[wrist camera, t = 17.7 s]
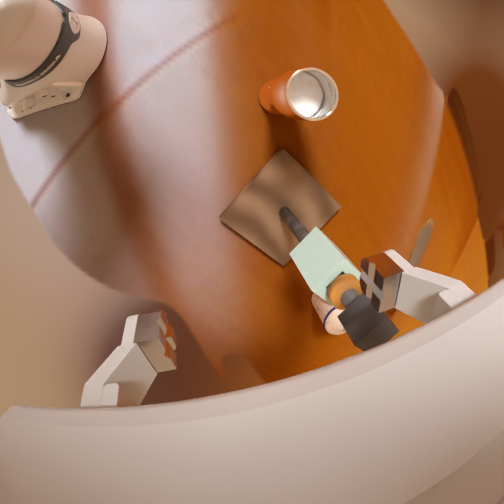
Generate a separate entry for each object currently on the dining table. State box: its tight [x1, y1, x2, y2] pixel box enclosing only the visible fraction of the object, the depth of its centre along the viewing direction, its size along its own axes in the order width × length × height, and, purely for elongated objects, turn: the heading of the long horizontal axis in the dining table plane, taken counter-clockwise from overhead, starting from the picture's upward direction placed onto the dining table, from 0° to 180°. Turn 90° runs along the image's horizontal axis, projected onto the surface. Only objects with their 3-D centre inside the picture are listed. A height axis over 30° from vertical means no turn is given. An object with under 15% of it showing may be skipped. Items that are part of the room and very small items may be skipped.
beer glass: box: [259, 67, 339, 121], centre depth 33 cm, size 7×7×15 cm
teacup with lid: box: [311, 292, 346, 335], centre depth 57 cm, size 12×9×12 cm
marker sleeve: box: [290, 227, 361, 307], centre depth 33 cm, size 5×5×8 cm
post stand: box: [219, 148, 399, 351], centre depth 36 cm, size 16×16×32 cm
